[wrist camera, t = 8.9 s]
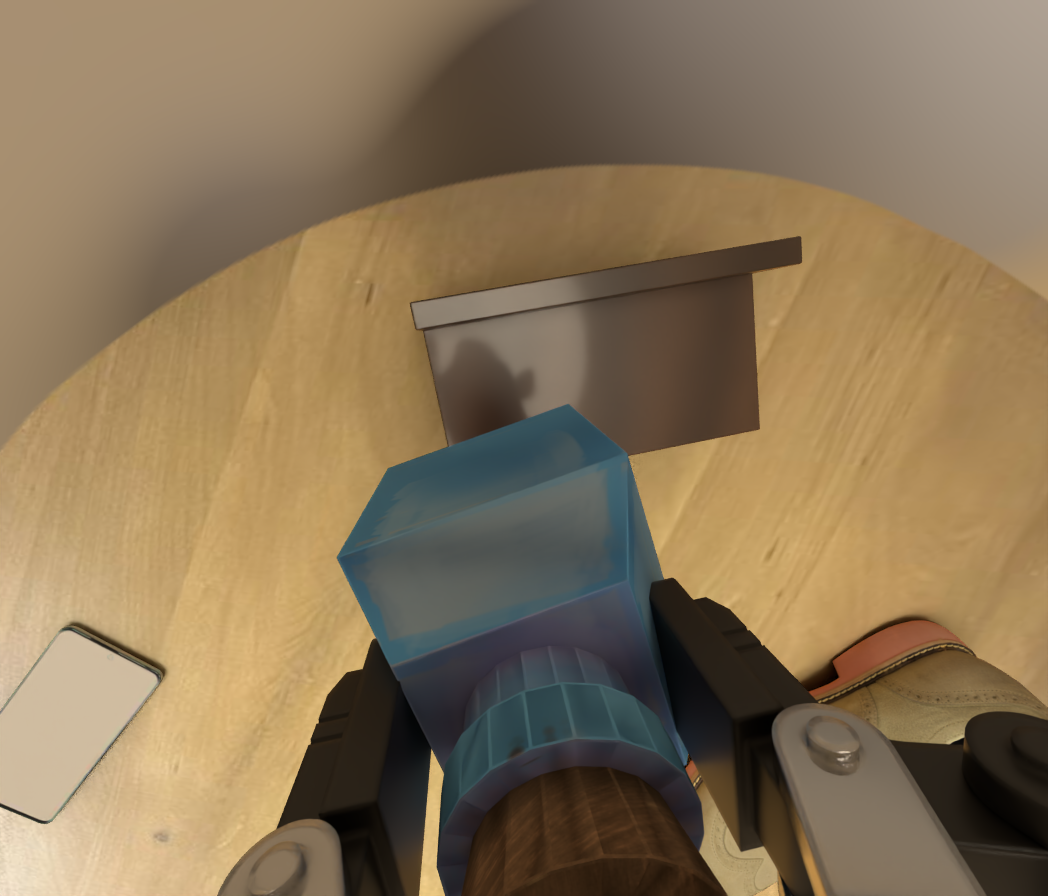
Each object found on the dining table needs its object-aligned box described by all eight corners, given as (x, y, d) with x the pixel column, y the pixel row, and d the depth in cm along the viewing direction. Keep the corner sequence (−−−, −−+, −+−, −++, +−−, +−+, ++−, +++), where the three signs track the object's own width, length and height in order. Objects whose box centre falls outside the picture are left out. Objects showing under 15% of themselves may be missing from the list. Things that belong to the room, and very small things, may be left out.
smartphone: (-55, 784, 33) (63, 624, 31) (-47, 777, 33) (70, 619, 32) (47, 827, 35) (164, 677, 33) (53, 820, 35) (169, 671, 34)
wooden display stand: (458, 462, 33) (456, 517, 23) (426, 312, 30) (409, 302, 21) (709, 413, 34) (807, 444, 25) (698, 265, 32) (802, 235, 22)
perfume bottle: (619, 564, 17) (910, 1041, 6) (456, 623, 17) (426, 1225, 6) (568, 403, 16) (834, 627, 4) (388, 468, 16) (150, 879, 4)
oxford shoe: (607, 812, 42) (661, 991, 30) (901, 573, 39) (1077, 670, 28) (682, 876, 44) (756, 1062, 33) (960, 657, 42) (1141, 775, 31)
